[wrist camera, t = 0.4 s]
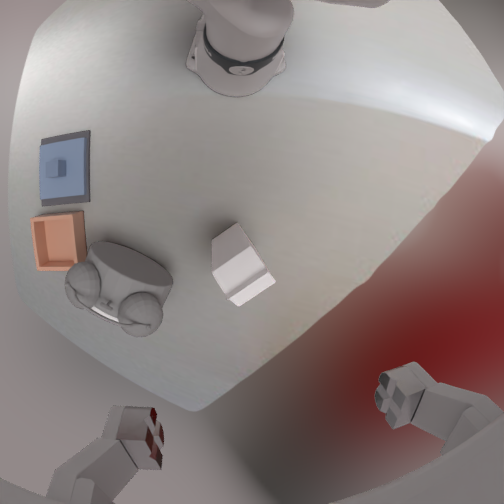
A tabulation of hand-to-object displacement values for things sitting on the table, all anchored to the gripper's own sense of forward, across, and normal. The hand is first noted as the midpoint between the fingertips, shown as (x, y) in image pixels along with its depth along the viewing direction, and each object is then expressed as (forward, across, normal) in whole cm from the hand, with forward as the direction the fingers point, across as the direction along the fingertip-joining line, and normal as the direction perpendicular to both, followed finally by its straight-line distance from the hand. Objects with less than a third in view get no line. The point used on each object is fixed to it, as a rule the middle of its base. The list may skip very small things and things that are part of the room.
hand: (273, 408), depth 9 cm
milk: (+46, -2, +5) cm, 47 cm away
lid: (+46, +31, -13) cm, 57 cm away
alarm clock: (+46, +18, +8) cm, 50 cm away
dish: (+46, +33, +1) cm, 57 cm away
